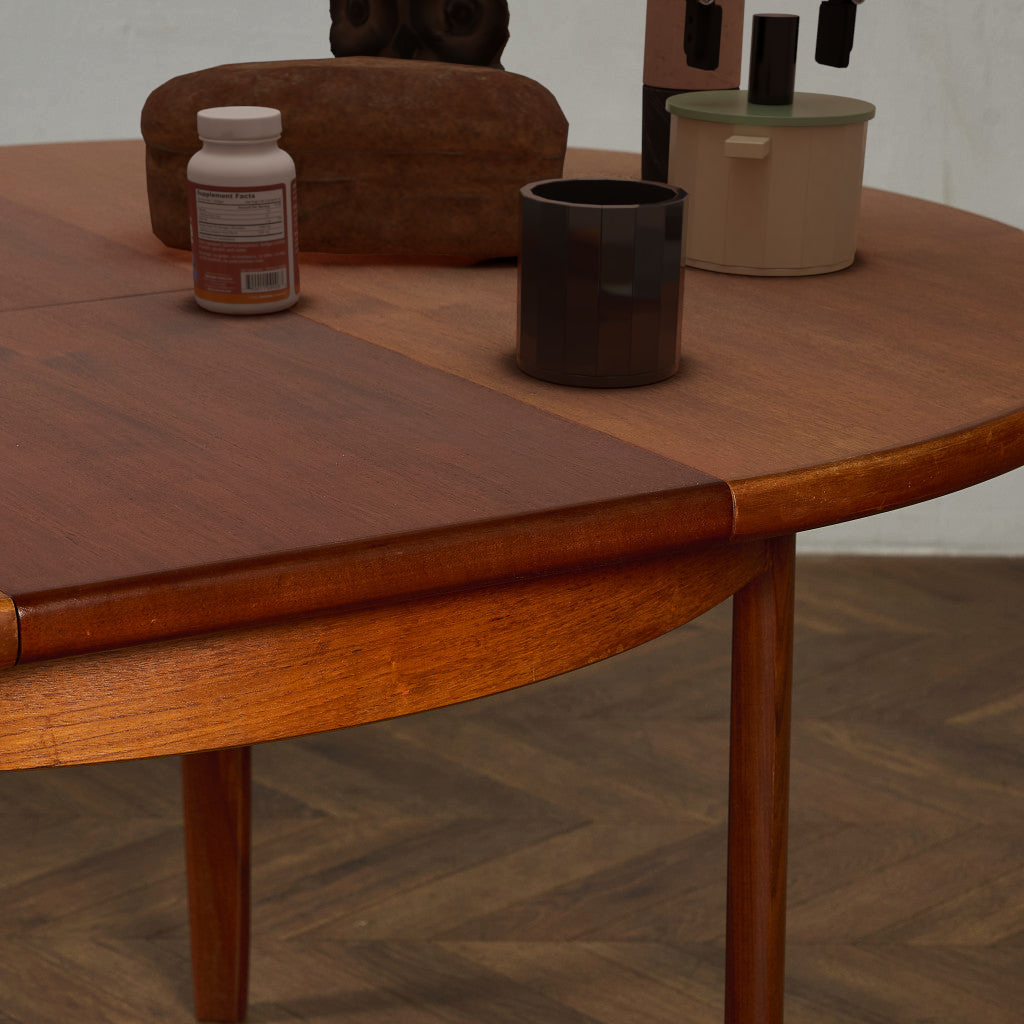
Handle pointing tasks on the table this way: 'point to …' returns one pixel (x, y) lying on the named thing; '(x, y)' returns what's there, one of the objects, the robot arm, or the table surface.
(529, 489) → the table surface
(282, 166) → the pill bottle
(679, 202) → the cup
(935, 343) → the table surface
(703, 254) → the pot
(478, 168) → the bread
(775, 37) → the lid
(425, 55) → the owl
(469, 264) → the table surface
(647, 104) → the travel mug
